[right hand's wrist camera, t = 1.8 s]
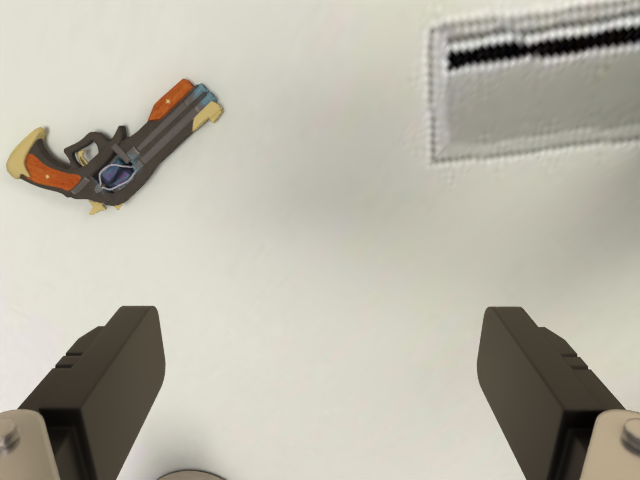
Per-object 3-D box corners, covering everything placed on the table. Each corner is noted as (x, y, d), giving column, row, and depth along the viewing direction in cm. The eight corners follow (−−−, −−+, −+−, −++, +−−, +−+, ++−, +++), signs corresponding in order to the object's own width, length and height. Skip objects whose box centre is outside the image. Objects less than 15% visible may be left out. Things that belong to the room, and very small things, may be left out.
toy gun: (-8, 165, 41) (75, 248, 42) (139, 14, 38) (223, 110, 39) (12, 163, 43) (90, 241, 45) (152, 21, 40) (229, 111, 42)
